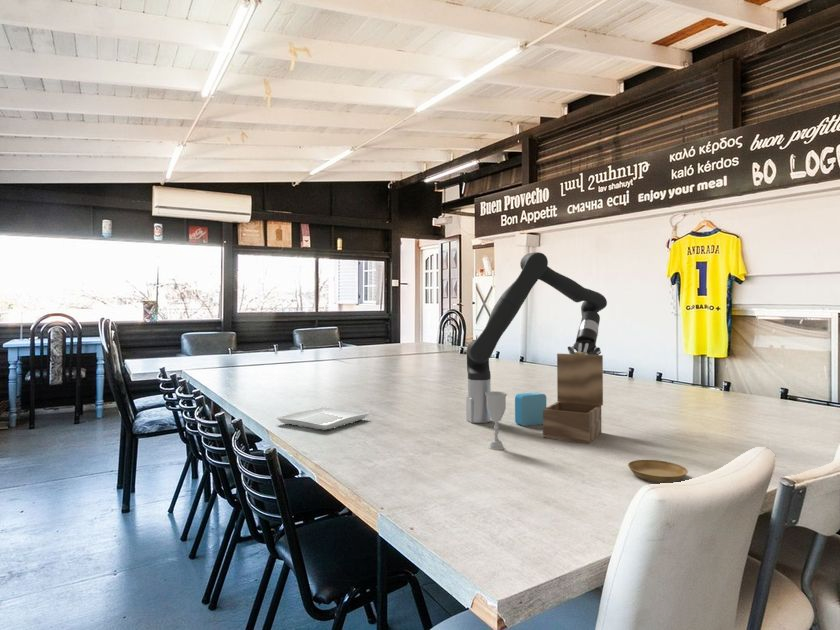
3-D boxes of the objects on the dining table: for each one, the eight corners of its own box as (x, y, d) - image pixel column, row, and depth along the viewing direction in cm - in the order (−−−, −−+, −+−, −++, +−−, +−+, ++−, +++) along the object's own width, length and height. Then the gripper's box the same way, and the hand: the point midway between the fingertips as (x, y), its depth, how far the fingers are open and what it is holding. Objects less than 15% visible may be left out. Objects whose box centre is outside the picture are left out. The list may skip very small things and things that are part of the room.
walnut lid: (556, 401, 193) (558, 400, 195) (601, 405, 185) (602, 404, 186) (556, 351, 193) (558, 351, 195) (601, 353, 184) (602, 353, 186)
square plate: (371, 420, 209) (371, 411, 209) (325, 434, 186) (325, 424, 186) (322, 414, 223) (322, 405, 223) (274, 426, 200) (274, 416, 200)
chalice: (509, 445, 168) (508, 392, 168) (505, 451, 162) (505, 395, 161) (487, 444, 170) (487, 391, 170) (483, 449, 164) (482, 394, 164)
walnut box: (558, 427, 194) (558, 401, 194) (601, 432, 186) (601, 405, 185) (543, 437, 179) (543, 409, 179) (589, 443, 170) (589, 414, 170)
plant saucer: (660, 489, 127) (660, 479, 127) (616, 472, 141) (616, 463, 141) (700, 481, 133) (700, 471, 133) (654, 465, 147) (654, 456, 147)
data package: (539, 421, 204) (539, 392, 204) (546, 423, 200) (546, 393, 200) (514, 424, 200) (514, 394, 200) (521, 426, 196) (521, 395, 196)
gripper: (569, 327, 202) (560, 360, 192) (603, 327, 195) (596, 362, 185) (572, 339, 207) (564, 372, 197) (606, 340, 200) (599, 374, 190)
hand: (580, 367), depth 191 cm, fingers closed
